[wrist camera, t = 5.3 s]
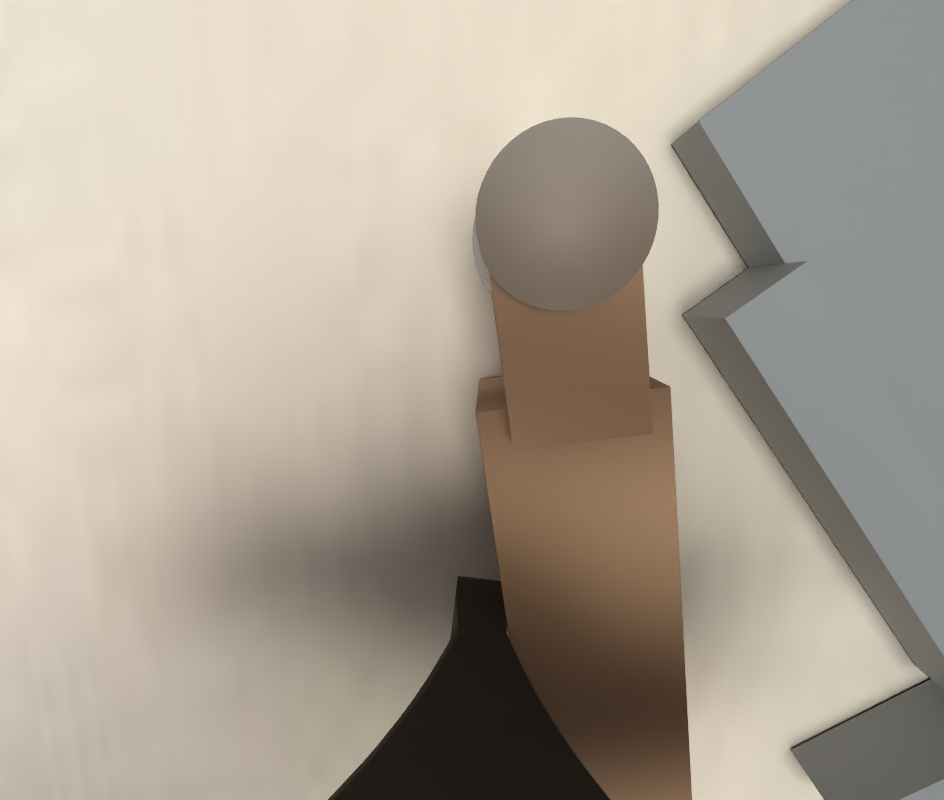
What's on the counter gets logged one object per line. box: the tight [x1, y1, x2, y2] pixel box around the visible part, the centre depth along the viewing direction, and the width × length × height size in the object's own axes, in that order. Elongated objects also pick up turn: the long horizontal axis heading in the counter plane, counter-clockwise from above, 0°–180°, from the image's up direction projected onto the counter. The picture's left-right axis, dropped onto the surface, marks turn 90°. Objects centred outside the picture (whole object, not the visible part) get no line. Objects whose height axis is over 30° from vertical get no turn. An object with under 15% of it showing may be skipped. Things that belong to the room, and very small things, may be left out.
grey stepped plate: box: [473, 0, 944, 800], centre depth 9 cm, size 9×17×2 cm, turn 37°
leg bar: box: [475, 117, 692, 800], centre depth 9 cm, size 15×3×4 cm, turn 8°
